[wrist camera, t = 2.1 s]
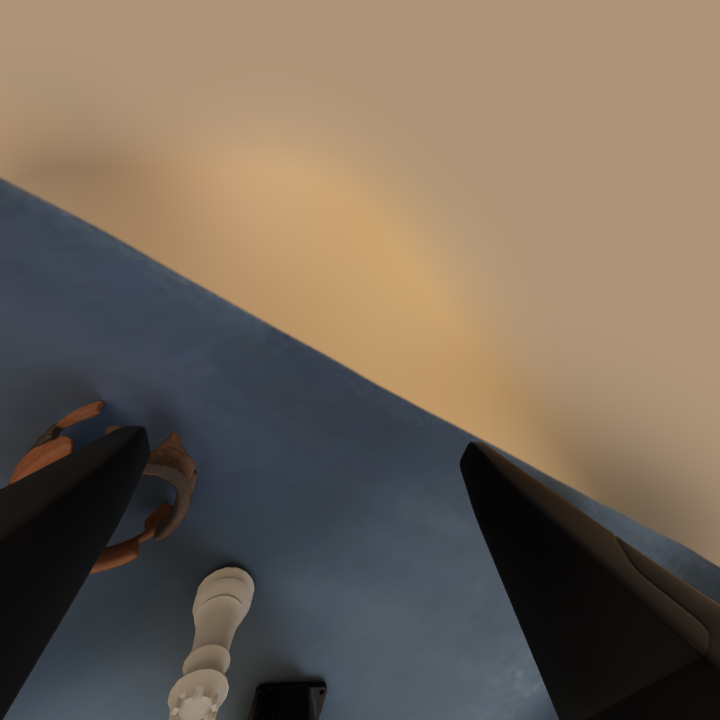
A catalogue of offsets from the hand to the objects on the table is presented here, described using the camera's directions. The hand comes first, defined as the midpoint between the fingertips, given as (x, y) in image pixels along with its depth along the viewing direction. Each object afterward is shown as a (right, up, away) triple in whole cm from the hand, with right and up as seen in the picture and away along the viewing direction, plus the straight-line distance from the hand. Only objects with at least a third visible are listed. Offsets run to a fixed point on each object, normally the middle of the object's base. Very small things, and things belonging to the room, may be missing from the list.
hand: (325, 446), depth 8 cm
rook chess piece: (-10, -17, +15) cm, 25 cm away
